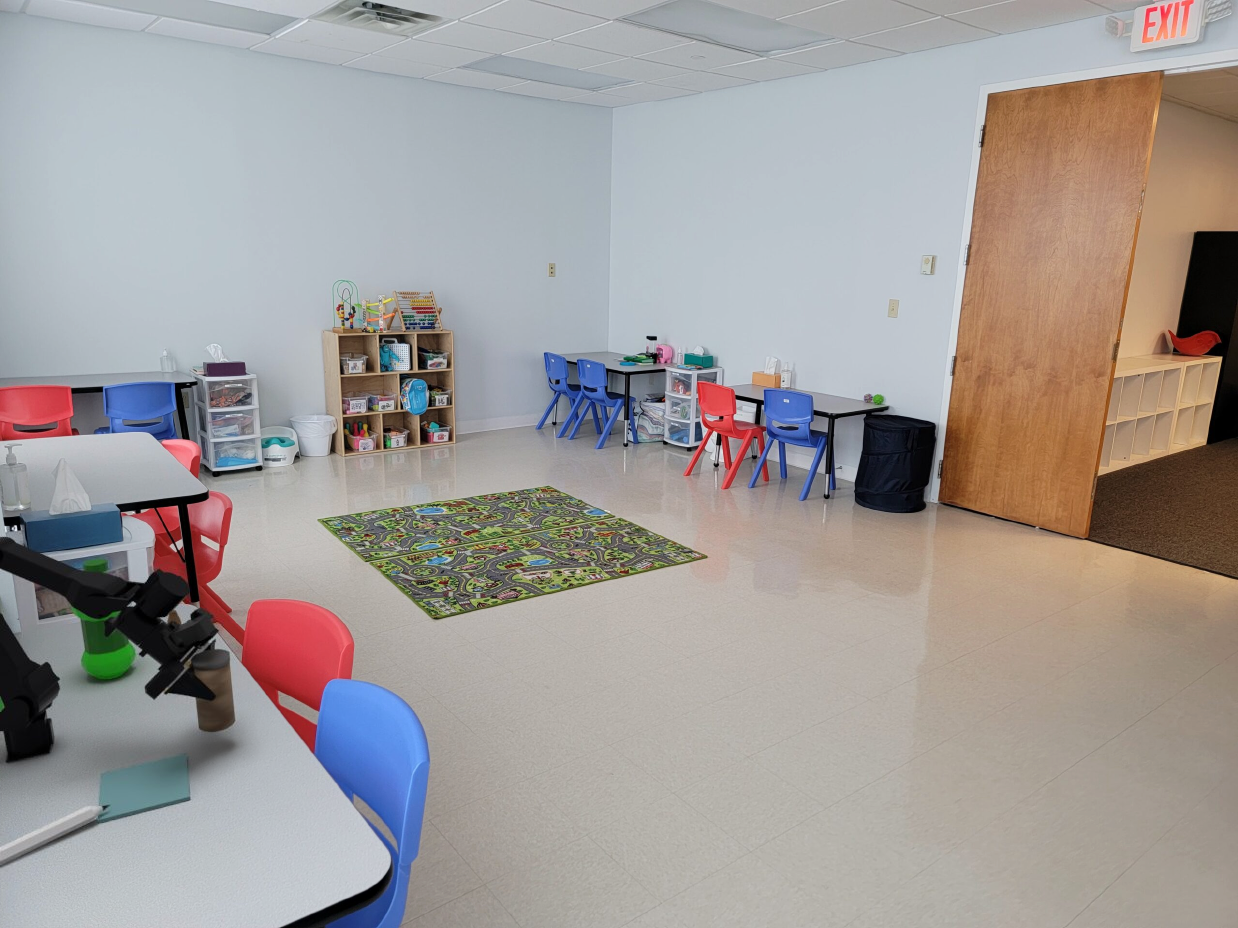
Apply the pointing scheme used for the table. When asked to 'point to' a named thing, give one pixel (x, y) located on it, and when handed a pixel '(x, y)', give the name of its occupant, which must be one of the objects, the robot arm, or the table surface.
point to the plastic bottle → (103, 640)
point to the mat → (143, 787)
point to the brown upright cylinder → (215, 690)
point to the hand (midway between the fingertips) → (221, 689)
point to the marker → (49, 833)
